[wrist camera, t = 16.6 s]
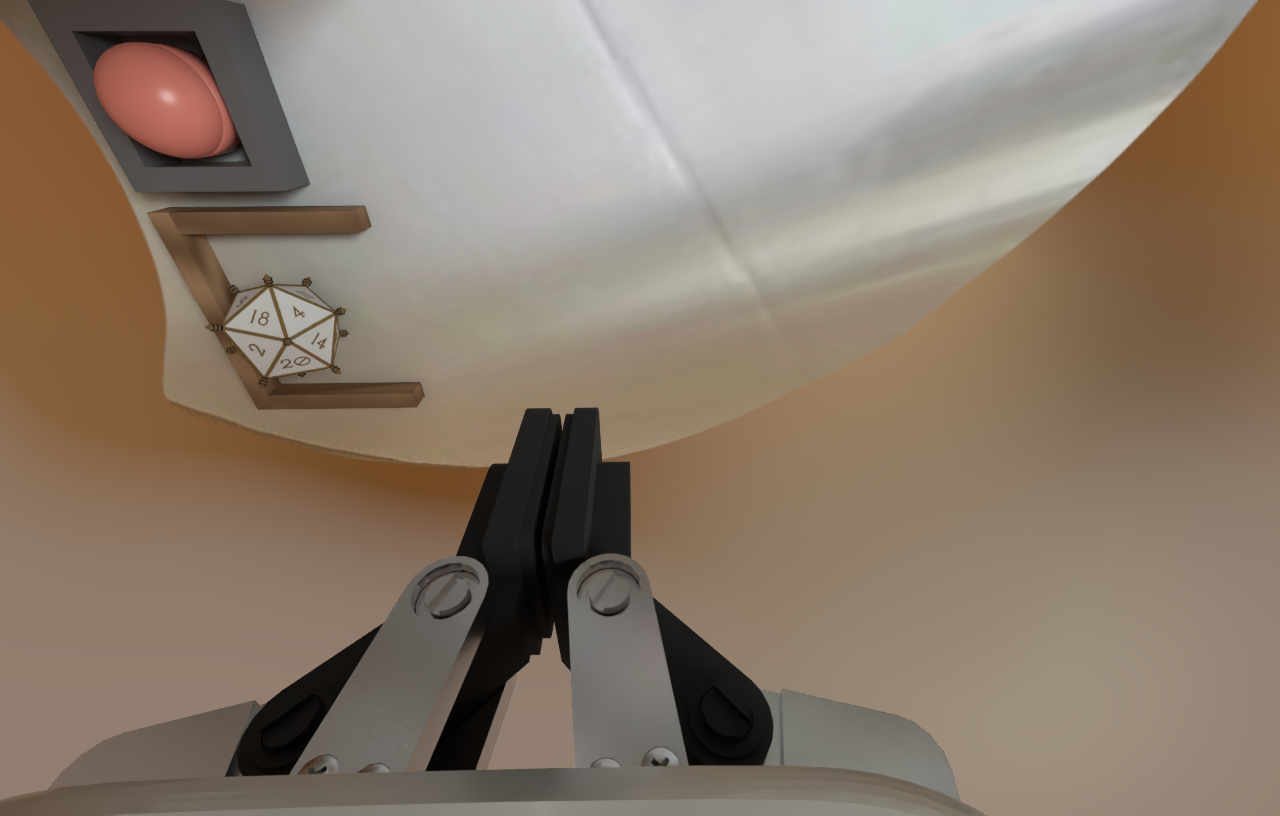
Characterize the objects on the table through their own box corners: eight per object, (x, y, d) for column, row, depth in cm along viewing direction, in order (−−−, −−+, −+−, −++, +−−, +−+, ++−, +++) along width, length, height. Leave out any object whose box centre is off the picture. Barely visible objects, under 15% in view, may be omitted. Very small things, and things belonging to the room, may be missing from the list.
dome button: (132, 46, 29) (31, 36, 24) (228, 46, 29) (146, 36, 24) (184, 153, 33) (105, 164, 28) (270, 153, 33) (206, 163, 28)
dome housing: (78, 5, 28) (25, -4, 26) (244, 5, 28) (207, -4, 26) (172, 185, 34) (135, 192, 31) (310, 184, 34) (284, 191, 31)
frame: (170, 207, 35) (146, 212, 33) (364, 205, 35) (351, 211, 33) (272, 397, 44) (258, 409, 42) (424, 395, 44) (416, 407, 43)
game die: (349, 281, 42) (366, 294, 34) (341, 372, 44) (356, 404, 36) (215, 257, 36) (201, 266, 29) (212, 363, 38) (198, 398, 30)
